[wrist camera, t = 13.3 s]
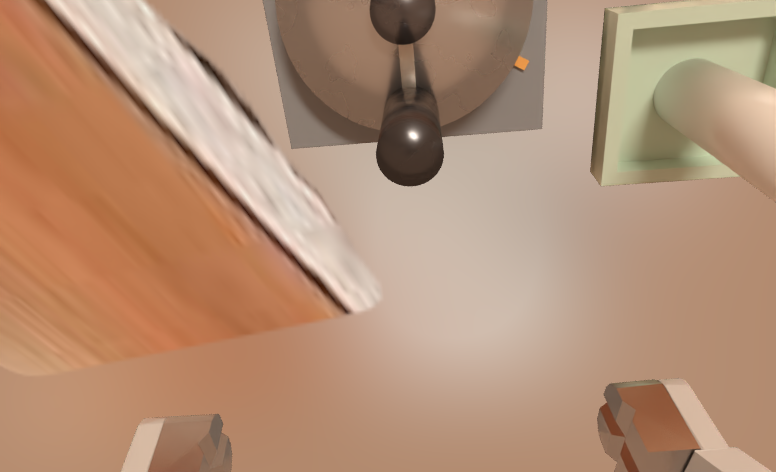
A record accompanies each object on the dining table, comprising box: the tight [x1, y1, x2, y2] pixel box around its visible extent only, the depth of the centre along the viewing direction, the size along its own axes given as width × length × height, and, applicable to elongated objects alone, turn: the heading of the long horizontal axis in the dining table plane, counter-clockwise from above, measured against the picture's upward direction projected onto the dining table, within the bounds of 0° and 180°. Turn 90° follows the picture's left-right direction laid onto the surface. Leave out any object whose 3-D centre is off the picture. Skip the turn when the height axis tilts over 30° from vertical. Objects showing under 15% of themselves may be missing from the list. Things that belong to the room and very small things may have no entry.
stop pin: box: [653, 58, 776, 202], centre depth 23 cm, size 4×4×14 cm
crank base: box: [263, 0, 547, 149], centre depth 28 cm, size 14×14×2 cm
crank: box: [275, 0, 533, 186], centre depth 23 cm, size 12×12×8 cm
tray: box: [590, 0, 776, 186], centre depth 29 cm, size 9×9×2 cm
